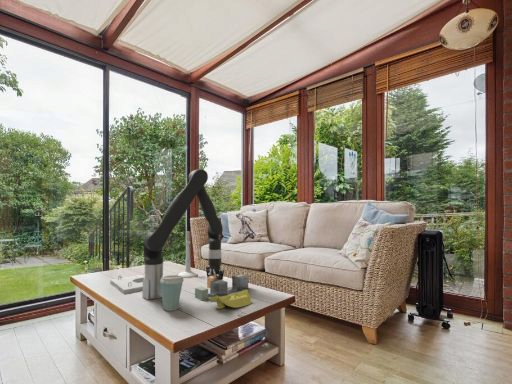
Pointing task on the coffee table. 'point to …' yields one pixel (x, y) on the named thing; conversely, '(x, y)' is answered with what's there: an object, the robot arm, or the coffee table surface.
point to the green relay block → (201, 293)
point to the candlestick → (188, 261)
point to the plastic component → (233, 300)
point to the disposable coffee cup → (171, 291)
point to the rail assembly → (222, 288)
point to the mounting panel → (129, 284)
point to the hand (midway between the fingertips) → (214, 286)
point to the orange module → (209, 279)
